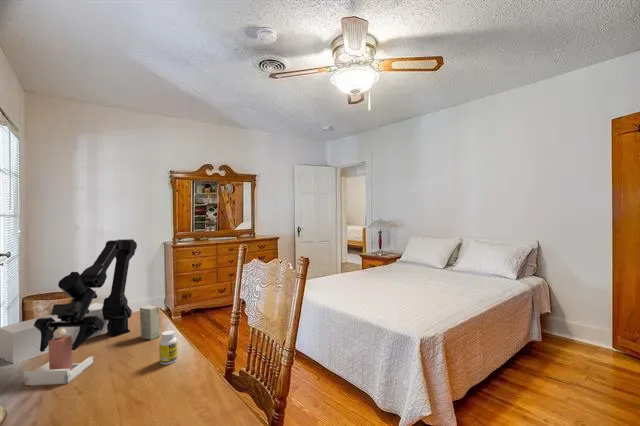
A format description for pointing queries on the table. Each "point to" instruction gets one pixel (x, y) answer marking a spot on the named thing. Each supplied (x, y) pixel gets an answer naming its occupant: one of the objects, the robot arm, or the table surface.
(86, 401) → the table surface
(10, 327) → the ridged white long block
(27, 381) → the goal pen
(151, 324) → the skincare box
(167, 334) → the supplement bottle
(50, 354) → the foosball player
